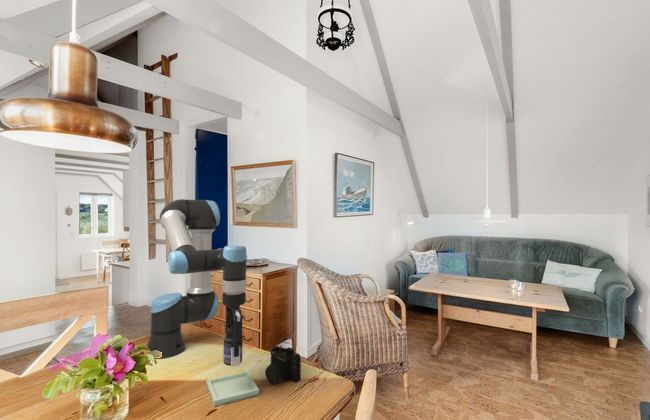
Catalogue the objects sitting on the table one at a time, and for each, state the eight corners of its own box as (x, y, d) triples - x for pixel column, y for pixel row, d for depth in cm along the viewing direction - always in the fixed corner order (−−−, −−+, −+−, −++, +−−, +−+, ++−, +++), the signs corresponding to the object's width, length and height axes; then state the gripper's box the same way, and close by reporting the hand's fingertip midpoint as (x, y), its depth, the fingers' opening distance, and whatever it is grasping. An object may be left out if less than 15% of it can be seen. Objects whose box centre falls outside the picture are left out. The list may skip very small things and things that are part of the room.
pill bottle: (236, 367, 104) (237, 333, 104) (219, 365, 105) (220, 331, 105) (245, 359, 110) (245, 326, 110) (228, 357, 111) (229, 325, 111)
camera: (255, 377, 116) (256, 349, 117) (278, 367, 125) (278, 341, 125) (280, 391, 107) (281, 361, 107) (303, 379, 115) (304, 351, 115)
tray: (206, 385, 110) (206, 379, 110) (247, 375, 117) (247, 370, 117) (214, 406, 98) (214, 401, 98) (258, 395, 105) (259, 389, 105)
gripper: (217, 287, 114) (215, 352, 114) (229, 299, 98) (227, 376, 97) (238, 285, 118) (237, 348, 118) (253, 297, 101) (252, 371, 101)
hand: (232, 361), depth 108 cm, fingers closed on pill bottle, 6 cm apart
